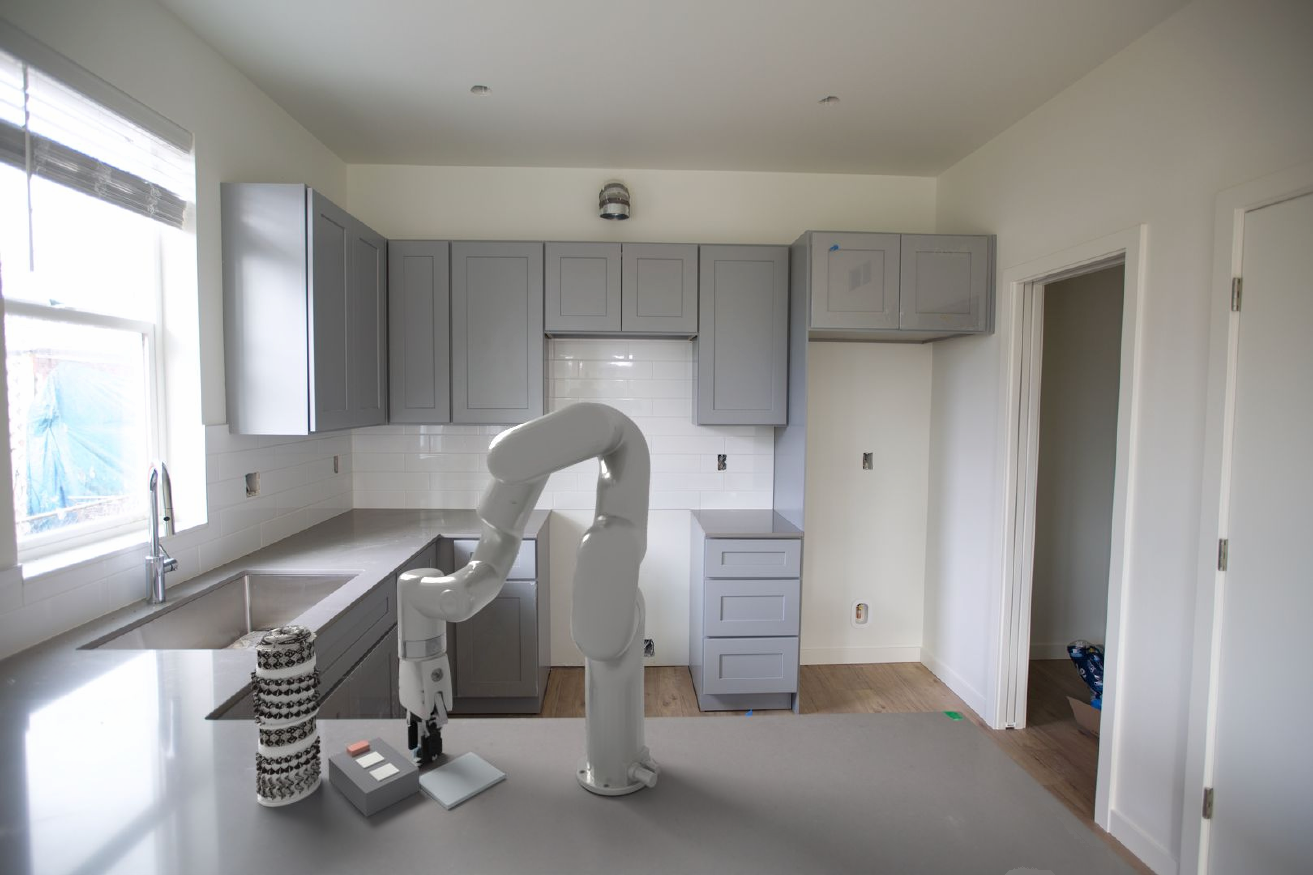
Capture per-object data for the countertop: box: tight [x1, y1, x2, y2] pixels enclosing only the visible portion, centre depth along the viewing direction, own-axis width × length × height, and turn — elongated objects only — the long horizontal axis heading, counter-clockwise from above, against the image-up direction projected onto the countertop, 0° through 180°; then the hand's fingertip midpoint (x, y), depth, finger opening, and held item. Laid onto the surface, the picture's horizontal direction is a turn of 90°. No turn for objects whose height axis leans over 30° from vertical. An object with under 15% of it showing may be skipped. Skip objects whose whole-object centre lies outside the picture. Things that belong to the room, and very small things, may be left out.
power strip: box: [327, 736, 420, 818], centre depth 92 cm, size 14×8×4 cm, turn 49°
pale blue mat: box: [419, 751, 506, 810], centre depth 93 cm, size 10×10×1 cm
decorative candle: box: [250, 624, 322, 808], centre depth 91 cm, size 9×9×25 cm
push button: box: [410, 710, 443, 768], centre depth 98 cm, size 7×5×10 cm
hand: (424, 750), depth 98 cm, fingers closed on push button, 3 cm apart
